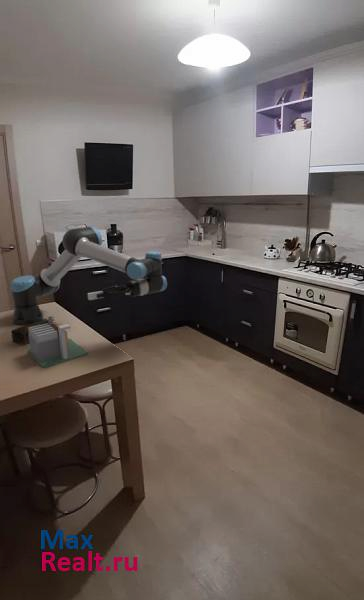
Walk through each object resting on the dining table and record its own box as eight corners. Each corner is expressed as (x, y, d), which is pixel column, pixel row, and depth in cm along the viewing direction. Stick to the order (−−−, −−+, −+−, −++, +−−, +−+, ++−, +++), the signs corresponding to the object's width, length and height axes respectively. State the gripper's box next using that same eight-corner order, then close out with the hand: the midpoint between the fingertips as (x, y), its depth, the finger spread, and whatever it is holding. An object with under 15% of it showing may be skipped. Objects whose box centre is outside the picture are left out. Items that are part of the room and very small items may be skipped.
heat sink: (27, 351, 154) (23, 320, 150) (70, 340, 166) (66, 310, 161) (42, 367, 139) (37, 333, 135) (88, 354, 151) (85, 322, 146)
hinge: (50, 342, 159) (47, 317, 156) (55, 341, 161) (52, 316, 157) (65, 356, 145) (62, 329, 142) (71, 354, 147) (68, 327, 143)
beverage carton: (56, 332, 175) (55, 320, 173) (22, 346, 160) (20, 333, 158) (46, 329, 179) (44, 317, 177) (11, 343, 163) (9, 329, 162)
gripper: (144, 298, 160) (95, 309, 146) (129, 292, 170) (82, 301, 156) (144, 282, 158) (94, 291, 144) (129, 277, 168) (81, 285, 154)
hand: (88, 296), depth 150 cm, fingers closed
